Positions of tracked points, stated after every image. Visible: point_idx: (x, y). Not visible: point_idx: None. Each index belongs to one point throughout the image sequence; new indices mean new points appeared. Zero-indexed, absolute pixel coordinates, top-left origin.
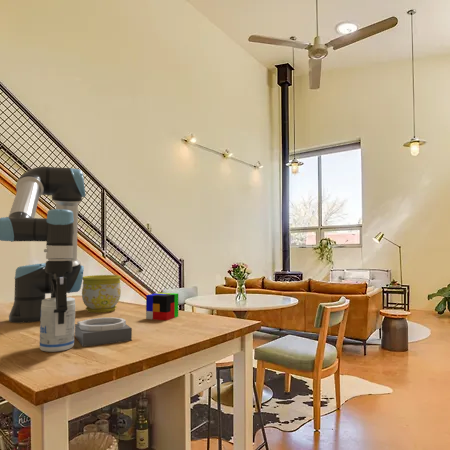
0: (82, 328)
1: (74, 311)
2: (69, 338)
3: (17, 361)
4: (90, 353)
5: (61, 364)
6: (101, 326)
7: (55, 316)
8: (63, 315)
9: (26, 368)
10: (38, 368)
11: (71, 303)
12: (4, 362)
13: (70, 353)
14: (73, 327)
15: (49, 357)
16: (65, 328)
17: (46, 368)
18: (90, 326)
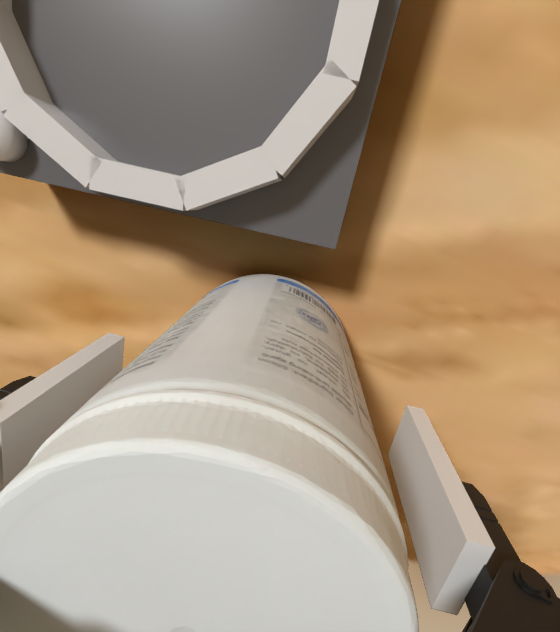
0: (209, 204)
1: (325, 383)
2: (346, 340)
3: None
4: (495, 264)
5: (549, 427)
6: (349, 81)
7: (422, 569)
8: (510, 552)
9: None
10: (519, 497)
11: (385, 513)
12: None
13: (409, 337)
14: (326, 330)
15: (399, 423)
16: (436, 436)
17: (547, 480)
18: (287, 168)
